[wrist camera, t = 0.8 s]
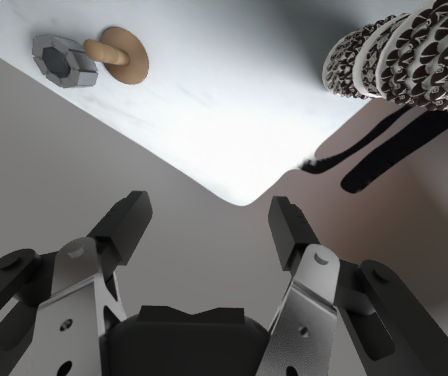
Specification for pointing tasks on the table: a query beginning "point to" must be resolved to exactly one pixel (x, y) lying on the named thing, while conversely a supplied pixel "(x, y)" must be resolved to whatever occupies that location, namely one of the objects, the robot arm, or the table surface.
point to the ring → (56, 66)
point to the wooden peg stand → (120, 55)
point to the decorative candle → (395, 59)
